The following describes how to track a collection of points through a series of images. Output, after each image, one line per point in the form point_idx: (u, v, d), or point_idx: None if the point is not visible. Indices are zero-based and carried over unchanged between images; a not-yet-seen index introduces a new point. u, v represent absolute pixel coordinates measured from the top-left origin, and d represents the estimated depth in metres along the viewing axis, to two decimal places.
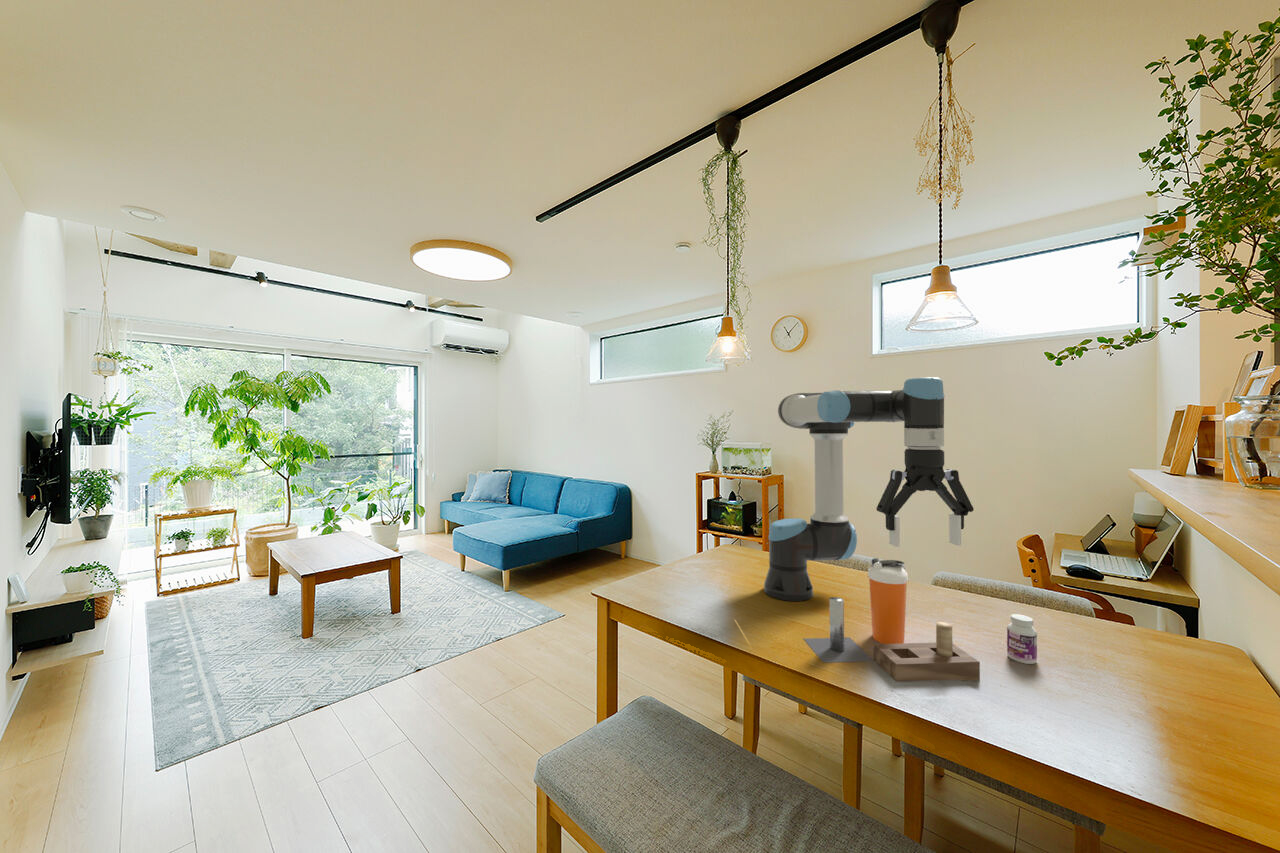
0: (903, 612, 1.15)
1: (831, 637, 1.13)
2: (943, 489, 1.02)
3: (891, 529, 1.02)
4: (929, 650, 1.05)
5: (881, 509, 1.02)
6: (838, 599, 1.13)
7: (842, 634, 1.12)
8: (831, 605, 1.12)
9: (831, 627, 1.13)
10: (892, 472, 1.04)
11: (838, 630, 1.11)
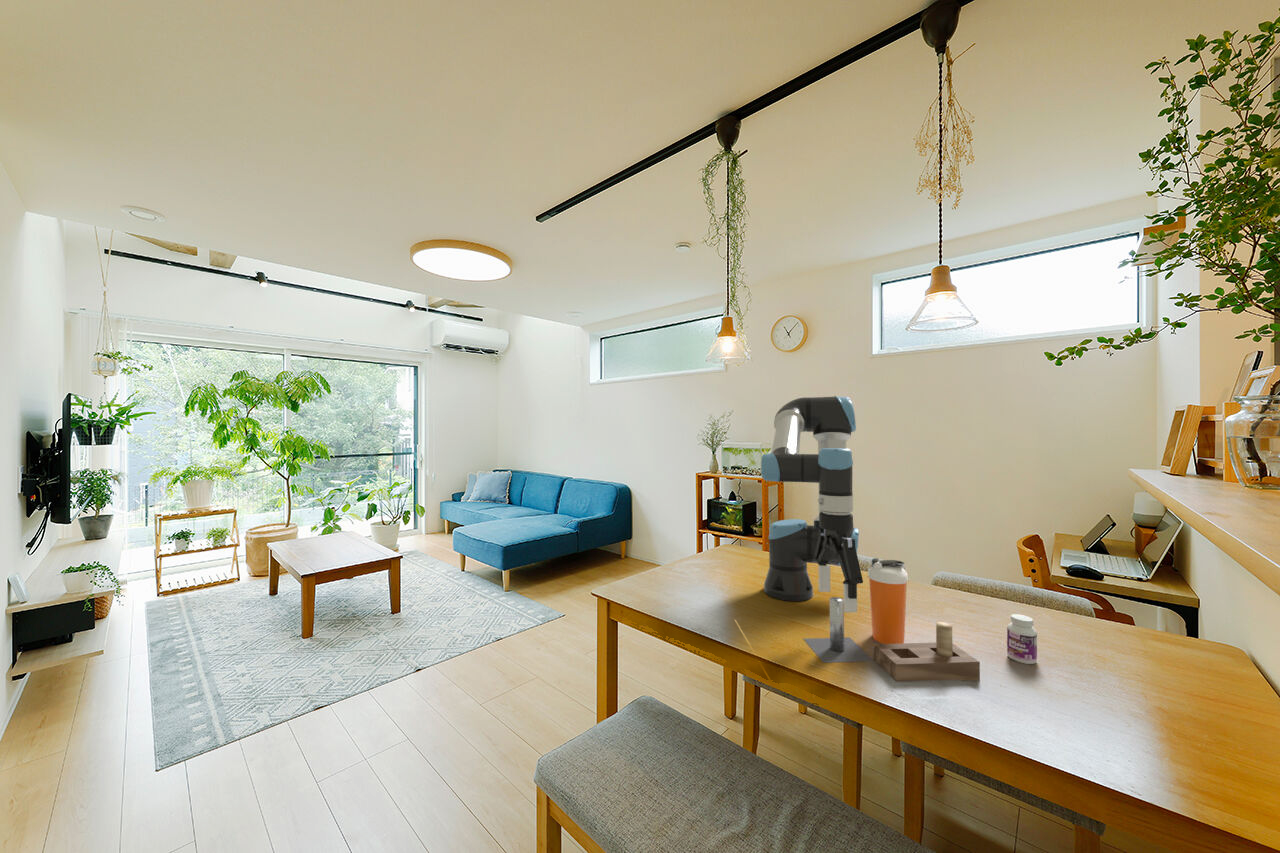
0: (903, 612, 1.15)
1: (831, 637, 1.13)
2: (835, 552, 1.10)
3: None
4: (929, 650, 1.05)
5: None
6: (838, 599, 1.13)
7: (842, 634, 1.12)
8: (831, 605, 1.12)
9: (831, 627, 1.13)
10: None
11: (838, 629, 1.11)
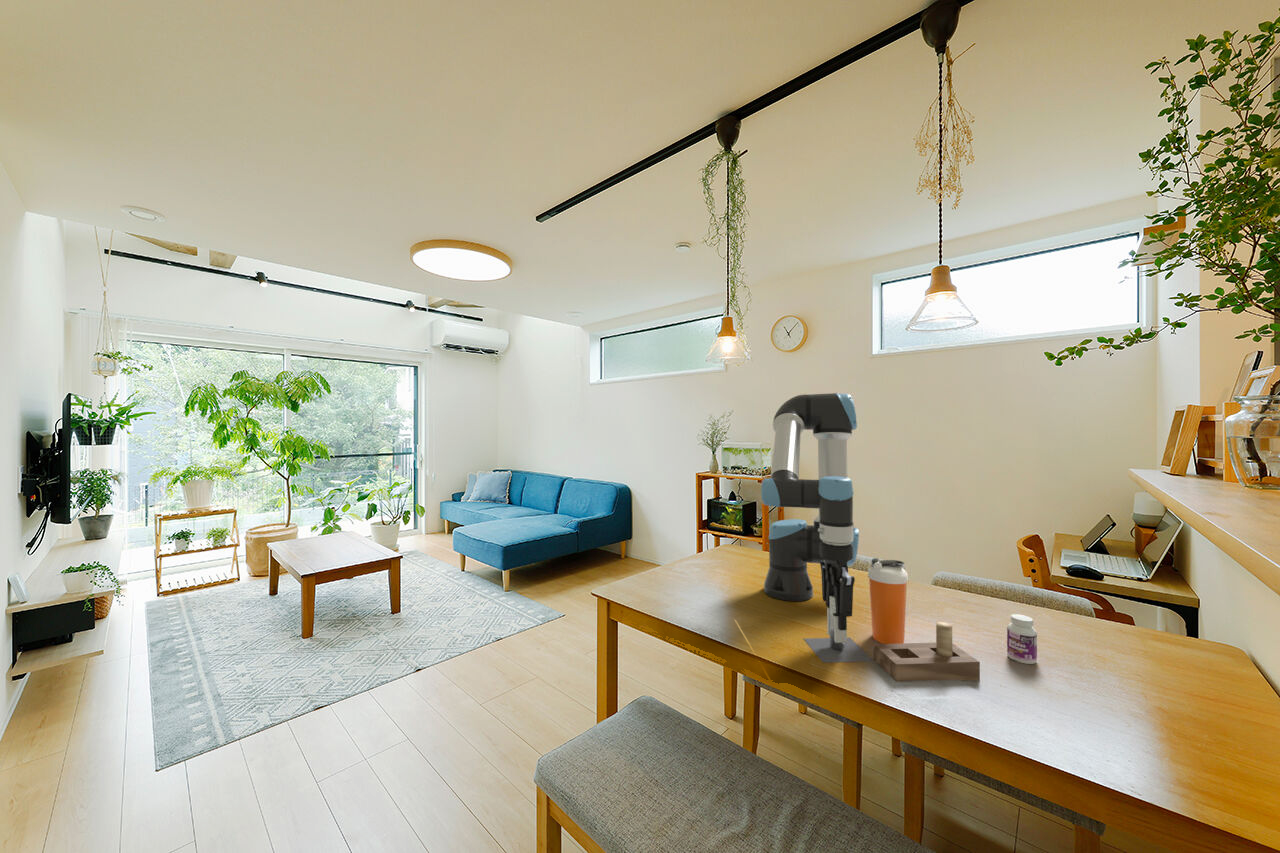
0: (903, 612, 1.15)
1: (831, 634, 1.13)
2: (832, 583, 1.12)
3: None
4: (929, 650, 1.05)
5: None
6: None
7: None
8: (831, 602, 1.13)
9: (831, 624, 1.13)
10: None
11: None
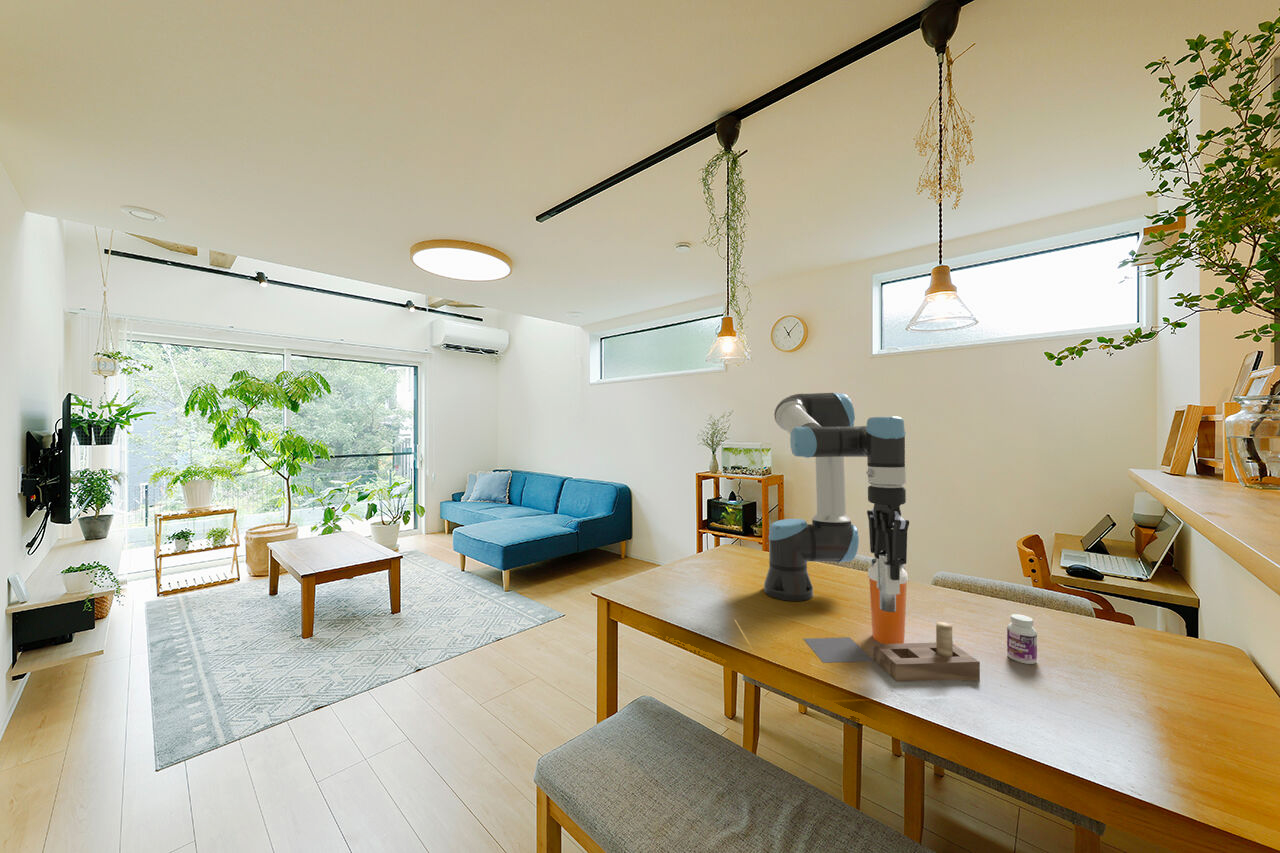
0: (903, 612, 1.15)
1: (881, 596, 1.04)
2: (883, 529, 1.03)
3: None
4: (929, 650, 1.05)
5: None
6: None
7: None
8: (881, 561, 1.04)
9: (881, 585, 1.04)
10: None
11: None
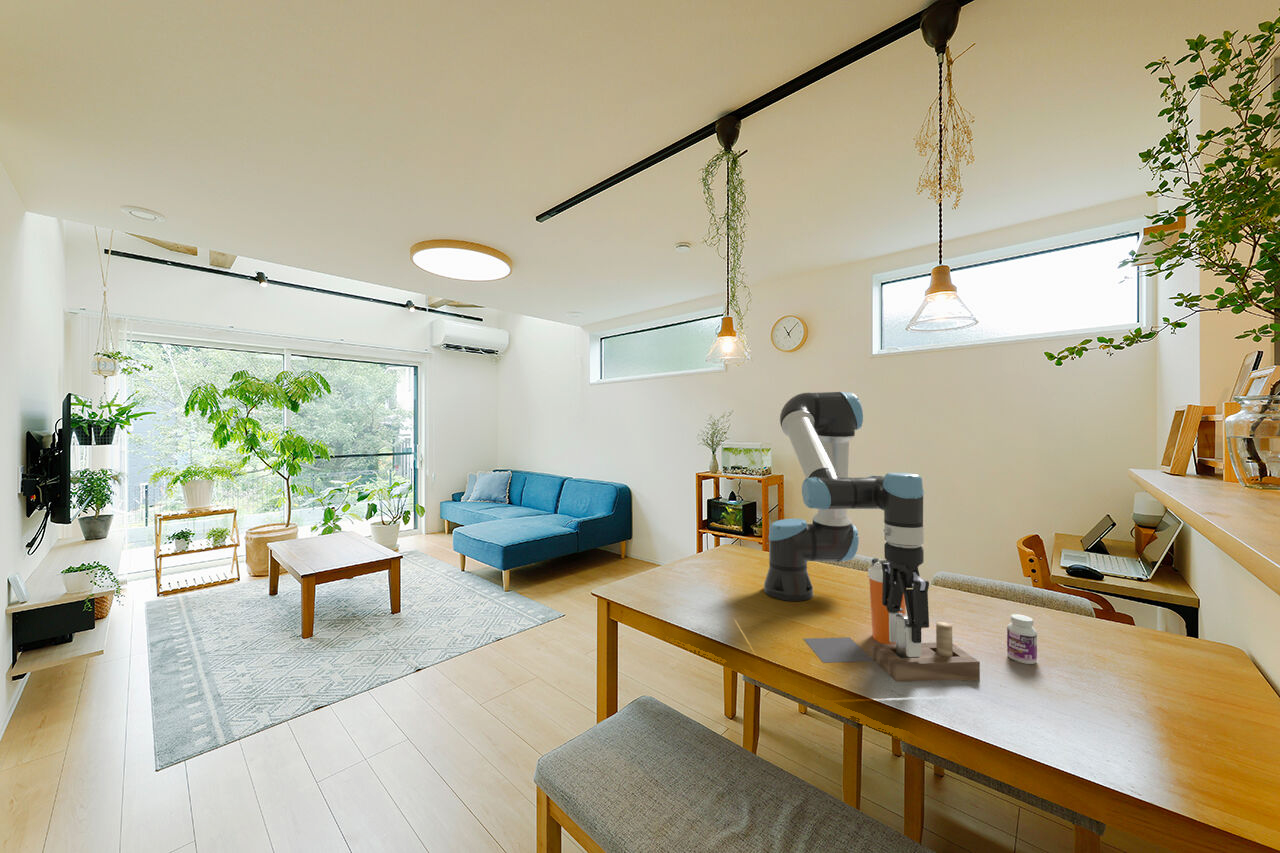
0: (903, 612, 1.15)
1: None
2: (901, 589, 1.01)
3: None
4: (929, 650, 1.05)
5: None
6: (905, 617, 1.03)
7: None
8: (898, 623, 1.03)
9: (898, 647, 1.03)
10: None
11: None
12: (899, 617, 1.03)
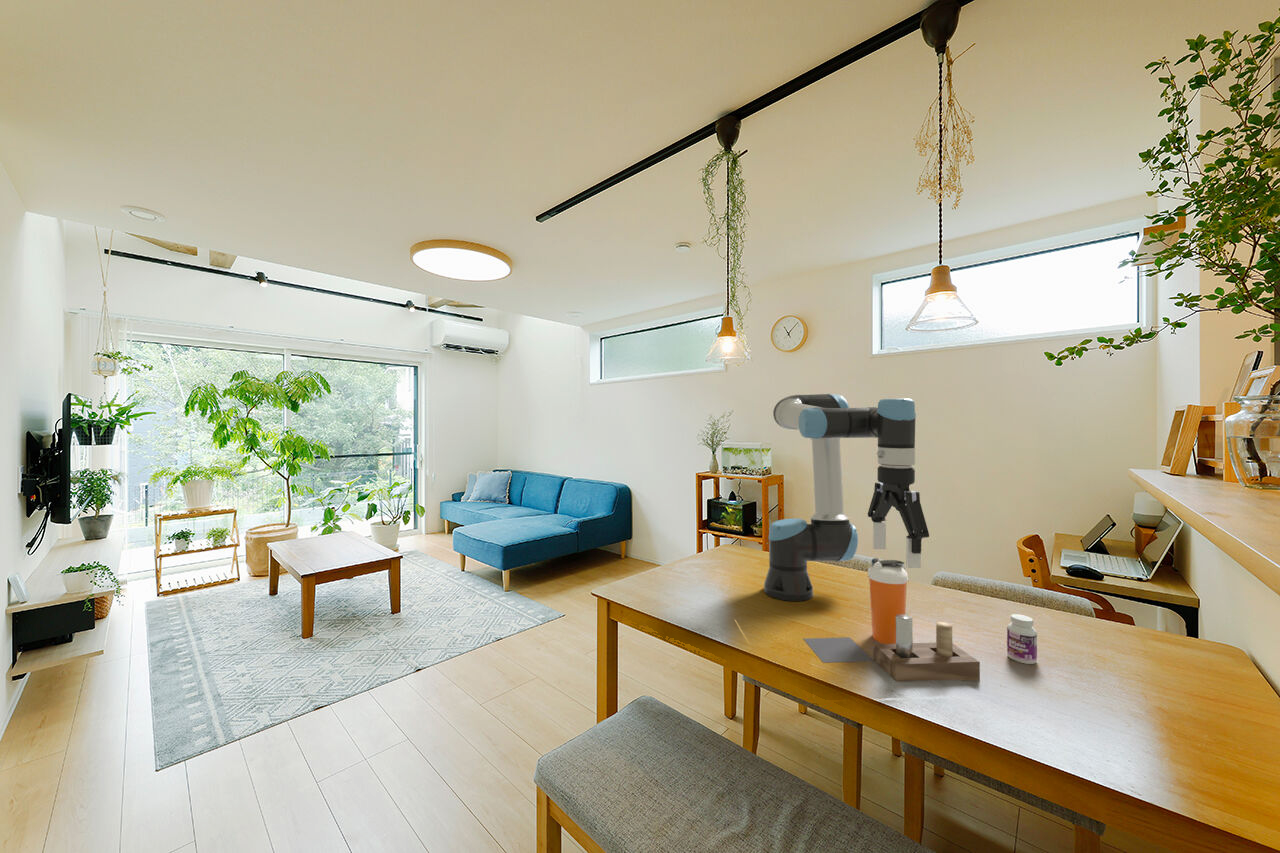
0: (903, 612, 1.15)
1: None
2: (896, 507, 1.05)
3: None
4: (929, 650, 1.05)
5: None
6: (905, 617, 1.03)
7: (911, 655, 1.02)
8: (898, 623, 1.03)
9: (898, 647, 1.03)
10: None
11: (907, 650, 1.02)
12: (899, 617, 1.03)
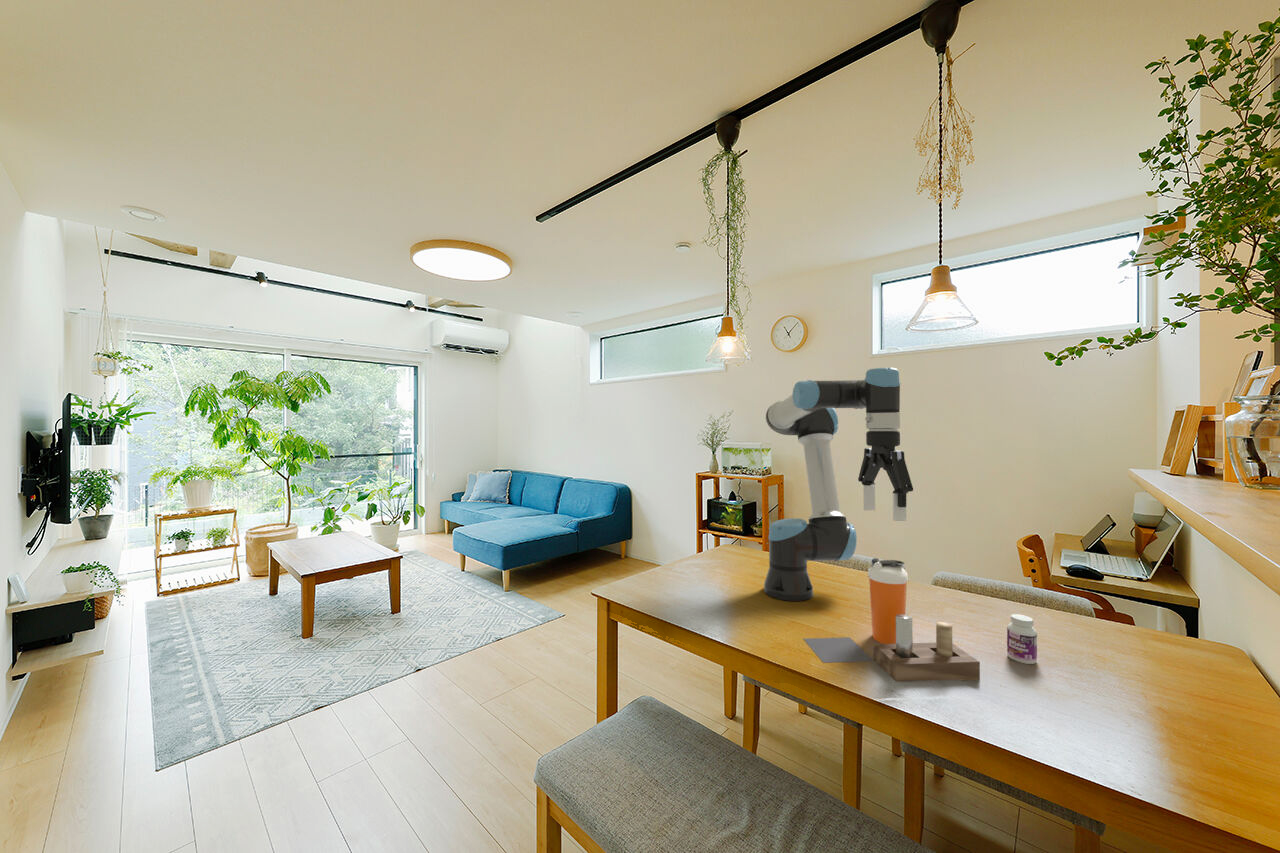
0: (903, 612, 1.15)
1: None
2: (883, 467, 1.14)
3: None
4: (929, 650, 1.05)
5: None
6: (905, 617, 1.03)
7: (911, 655, 1.02)
8: (898, 623, 1.03)
9: (898, 647, 1.03)
10: None
11: (907, 650, 1.02)
12: (899, 617, 1.03)
